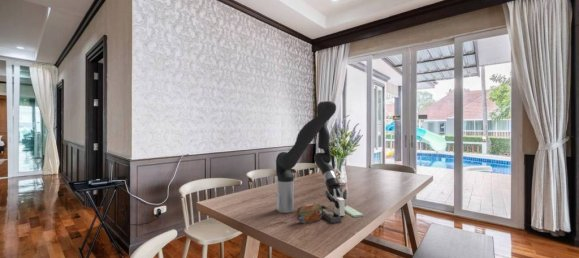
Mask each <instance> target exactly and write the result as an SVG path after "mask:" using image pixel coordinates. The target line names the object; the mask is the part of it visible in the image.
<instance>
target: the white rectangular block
mask: <svg viewBox="0 0 579 258" xmlns="http://www.w3.org/2000/svg"><path fill="white" fill-rule="evenodd" d="M336 198H337V201H338V204H339V209H337V208H336V207H335V204H333V205H334V206H333V209H334V211H333V212H334V213H336V214H337V215H339V216H340V217H342V216H345V215H346V212H345V204H346V199H343V198H341V197H336Z"/></svg>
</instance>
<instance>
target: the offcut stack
mask: <svg viewBox="0 0 579 258" xmlns="http://www.w3.org/2000/svg"><path fill="white" fill-rule="evenodd" d="M329 209H330V208H329ZM329 209H323V211H324V212H325V213H327V214H328V215H329V216H331V217H333V215H334V213H335V212H334V213H332V212H331V211H330V210H331V209H330V210H329Z"/></svg>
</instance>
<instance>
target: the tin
mask: <svg viewBox="0 0 579 258" xmlns="http://www.w3.org/2000/svg"><path fill="white" fill-rule="evenodd" d="M322 206H323V205H321V204H318V203H312V204H304V205H301V206H299V207H298V208H297V210H296V211H295V213H296V214H295V217H296V220H297V221H298V222H300V223H301V224H304V225H305V224H309V223H313V222H317V221H320V220H321V219H322V217H323V208H322Z"/></svg>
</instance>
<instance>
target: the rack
mask: <svg viewBox="0 0 579 258" xmlns="http://www.w3.org/2000/svg"><path fill="white" fill-rule="evenodd" d="M321 206H322V208H323V209H329V210H330V211H331V212H332V213H334V215H333V217H331V216H329V215H328V214H327V213H325V212H324V211H323V216H322V217H323V218H324V219H326V220H327V221H328V222H329V223H330V224H336V223H341V222H342V216H339V215H338V214H336V213H335V212H334V211H333V210H332V209H330V208H328V207H327V206H325V205H324V204H323V205H321Z"/></svg>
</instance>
